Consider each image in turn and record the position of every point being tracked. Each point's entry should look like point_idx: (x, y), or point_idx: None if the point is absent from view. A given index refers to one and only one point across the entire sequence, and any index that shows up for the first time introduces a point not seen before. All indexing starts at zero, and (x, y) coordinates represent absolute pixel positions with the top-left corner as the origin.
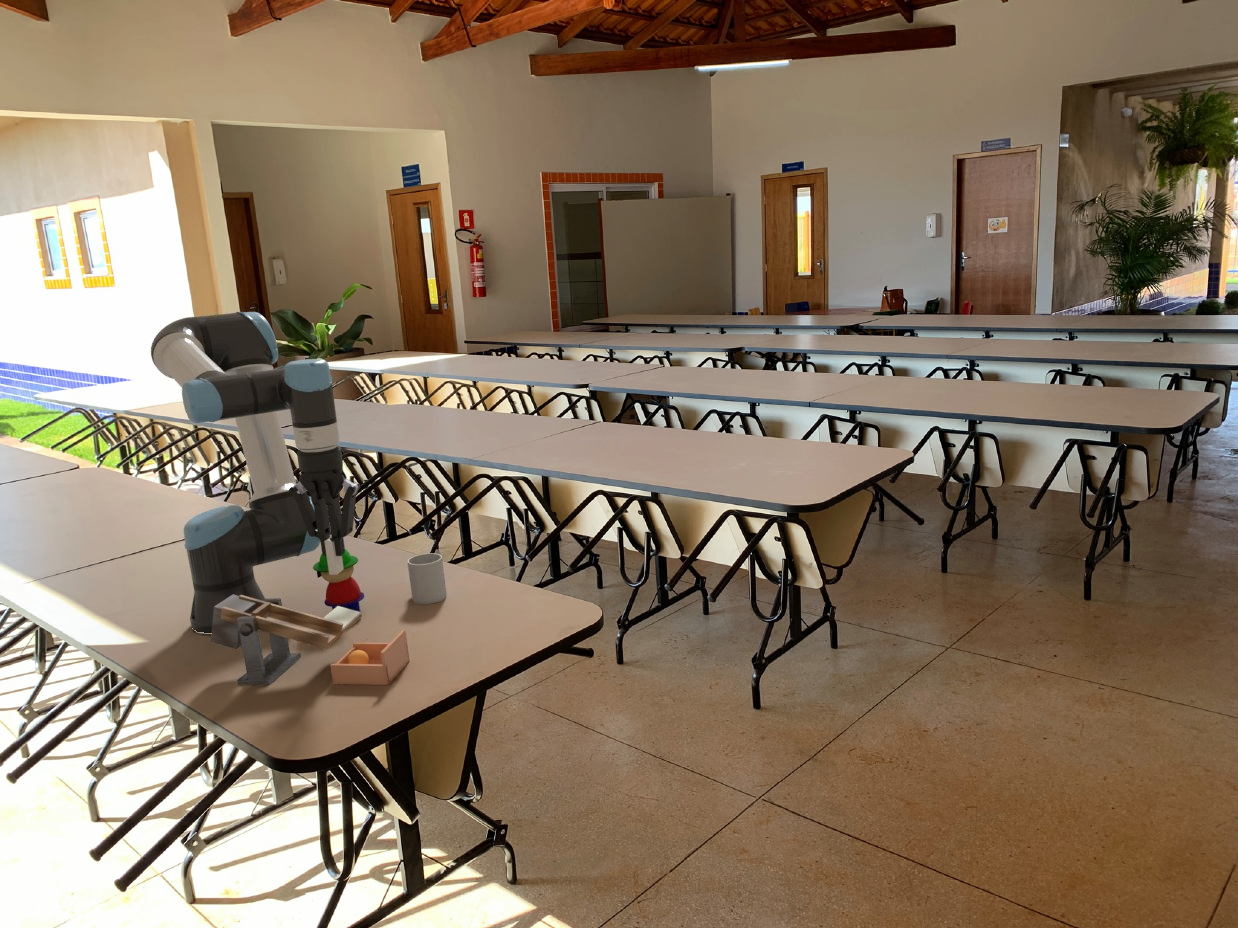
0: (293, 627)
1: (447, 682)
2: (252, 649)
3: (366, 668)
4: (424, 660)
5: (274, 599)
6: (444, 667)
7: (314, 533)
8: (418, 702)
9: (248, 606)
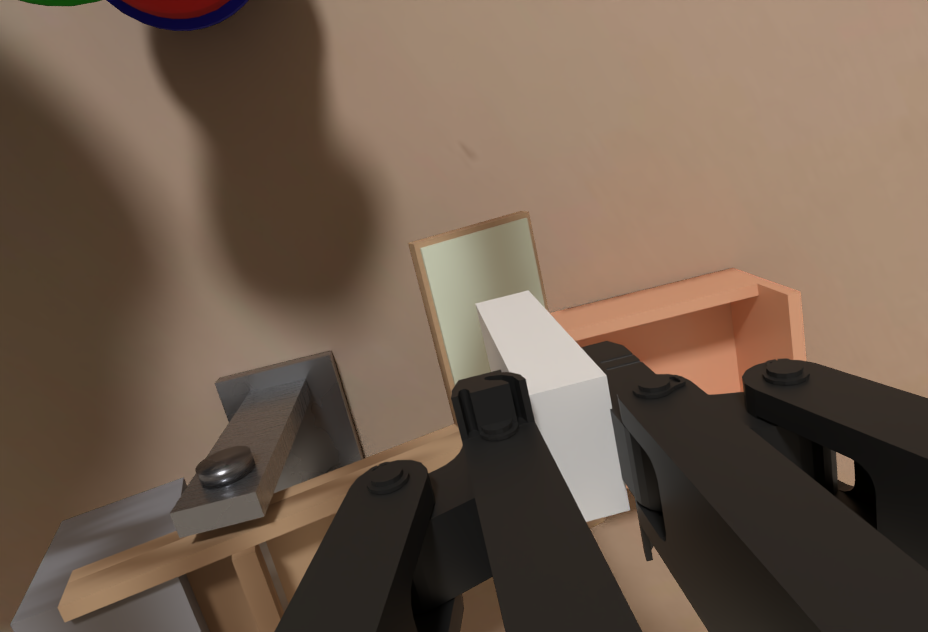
0: None
1: (916, 356)
2: None
3: None
4: (780, 251)
5: (229, 509)
6: (868, 276)
7: (460, 605)
8: None
9: (186, 624)
